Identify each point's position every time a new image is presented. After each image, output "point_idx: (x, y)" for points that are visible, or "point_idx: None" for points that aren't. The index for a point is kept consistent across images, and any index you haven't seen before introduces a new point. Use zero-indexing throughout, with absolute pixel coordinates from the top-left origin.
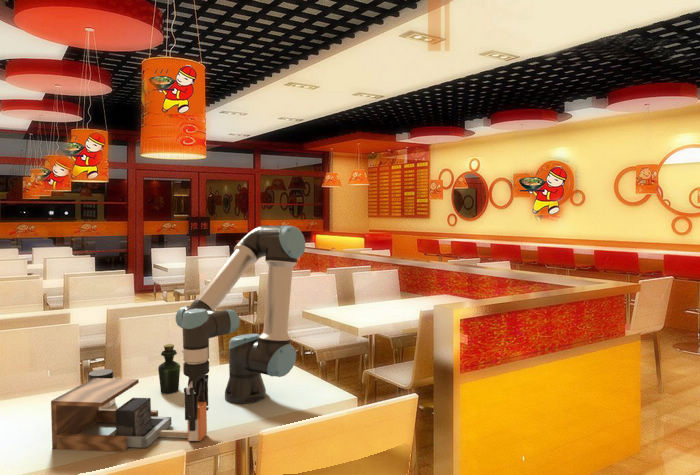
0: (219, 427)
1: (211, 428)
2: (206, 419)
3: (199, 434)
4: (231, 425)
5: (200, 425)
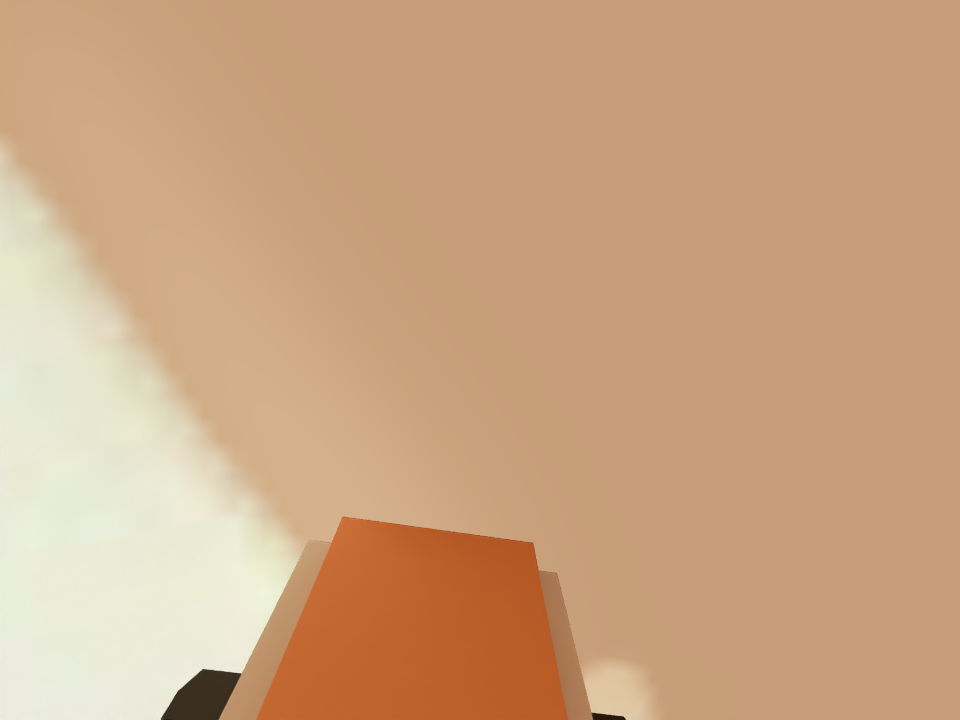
0: (119, 406)
1: (158, 493)
2: (287, 666)
3: (540, 606)
4: (34, 259)
5: (562, 705)
